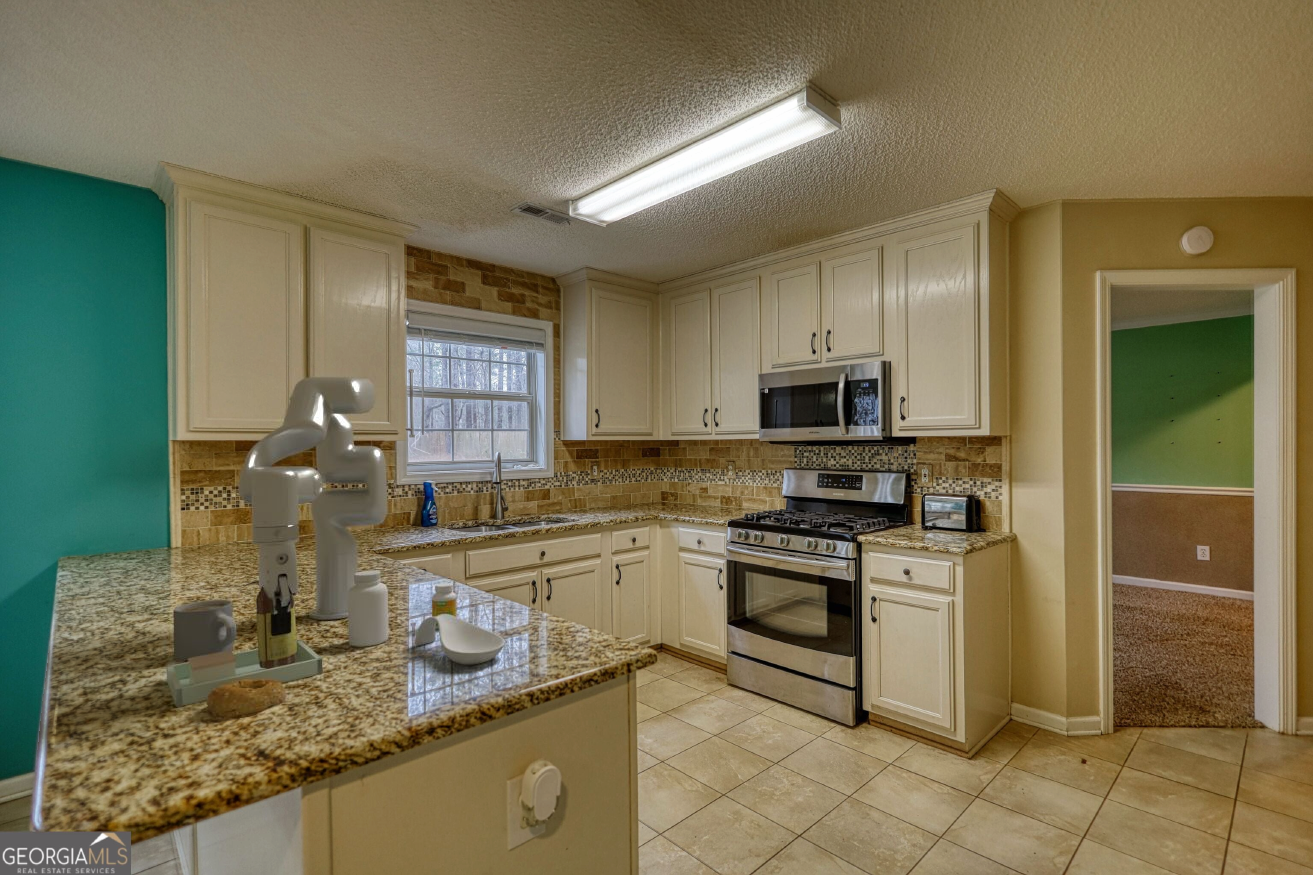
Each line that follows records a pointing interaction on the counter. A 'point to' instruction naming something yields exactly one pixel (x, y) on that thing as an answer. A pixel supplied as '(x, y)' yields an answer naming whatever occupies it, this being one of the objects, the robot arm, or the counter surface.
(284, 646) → the sauce bottle
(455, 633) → the spoon rest
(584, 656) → the counter surface
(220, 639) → the coffee mug
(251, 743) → the counter surface
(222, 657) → the pink lidded box
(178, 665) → the pale green tray
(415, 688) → the counter surface
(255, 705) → the bagel
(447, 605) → the supplement bottle
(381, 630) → the pill bottle
